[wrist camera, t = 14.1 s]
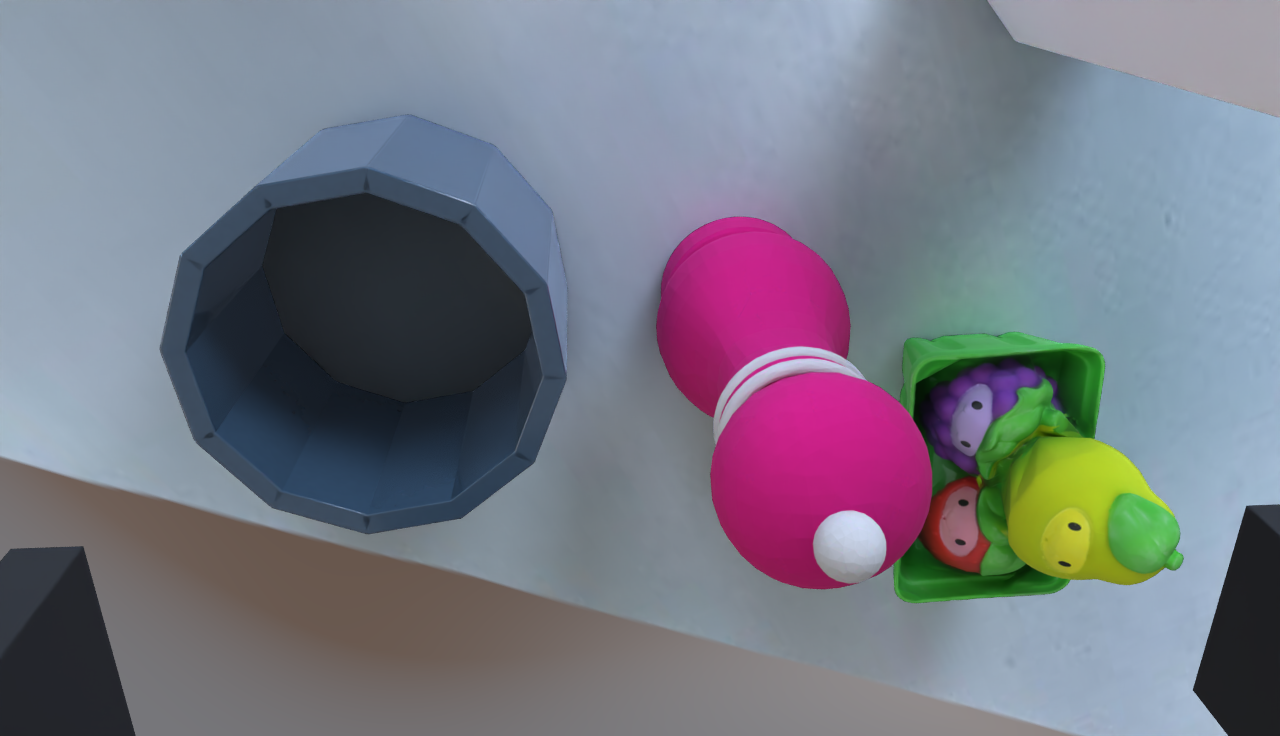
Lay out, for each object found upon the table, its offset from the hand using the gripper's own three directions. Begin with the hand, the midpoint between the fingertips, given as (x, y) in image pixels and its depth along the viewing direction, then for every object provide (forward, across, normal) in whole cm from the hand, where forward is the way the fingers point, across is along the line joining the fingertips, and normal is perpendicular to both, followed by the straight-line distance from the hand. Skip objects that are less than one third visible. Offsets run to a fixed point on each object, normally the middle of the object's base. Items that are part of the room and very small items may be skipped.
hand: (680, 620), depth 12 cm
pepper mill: (+30, +5, -7) cm, 32 cm away
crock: (+30, -8, -6) cm, 32 cm away
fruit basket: (+30, +16, -14) cm, 37 cm away
